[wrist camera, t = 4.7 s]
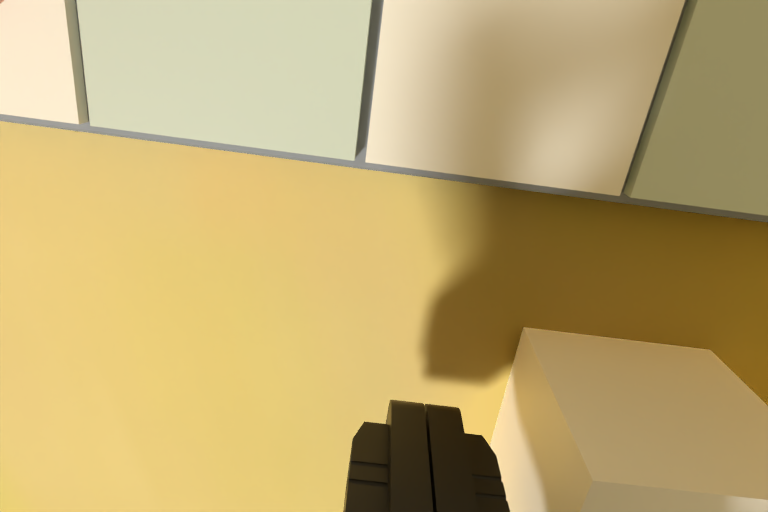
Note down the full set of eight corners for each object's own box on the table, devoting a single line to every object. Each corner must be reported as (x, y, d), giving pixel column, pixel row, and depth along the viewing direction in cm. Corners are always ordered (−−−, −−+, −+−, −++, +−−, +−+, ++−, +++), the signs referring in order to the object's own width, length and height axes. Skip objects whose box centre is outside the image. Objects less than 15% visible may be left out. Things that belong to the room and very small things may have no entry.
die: (482, 465, 13) (524, 666, 9) (522, 324, 12) (598, 491, 7) (643, 483, 14) (760, 689, 9) (707, 346, 12) (888, 523, 7)
